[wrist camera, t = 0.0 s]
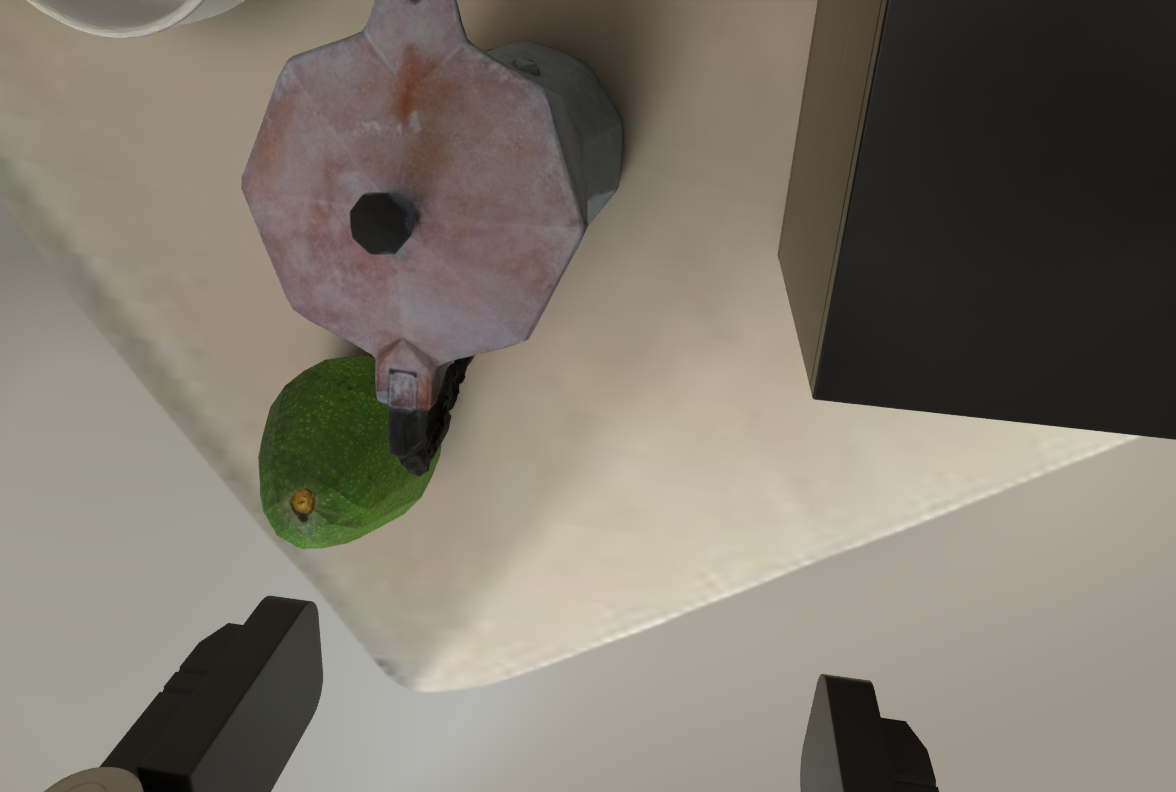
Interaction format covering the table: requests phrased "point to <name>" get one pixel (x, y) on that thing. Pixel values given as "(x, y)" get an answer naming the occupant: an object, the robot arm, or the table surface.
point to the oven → (989, 210)
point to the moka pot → (428, 197)
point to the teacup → (131, 14)
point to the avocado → (333, 458)
